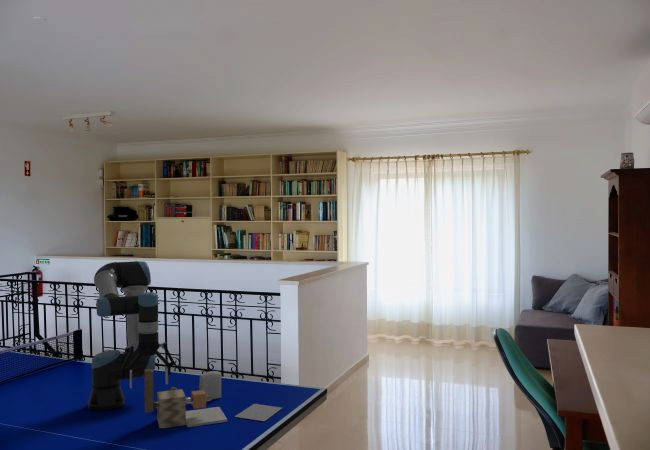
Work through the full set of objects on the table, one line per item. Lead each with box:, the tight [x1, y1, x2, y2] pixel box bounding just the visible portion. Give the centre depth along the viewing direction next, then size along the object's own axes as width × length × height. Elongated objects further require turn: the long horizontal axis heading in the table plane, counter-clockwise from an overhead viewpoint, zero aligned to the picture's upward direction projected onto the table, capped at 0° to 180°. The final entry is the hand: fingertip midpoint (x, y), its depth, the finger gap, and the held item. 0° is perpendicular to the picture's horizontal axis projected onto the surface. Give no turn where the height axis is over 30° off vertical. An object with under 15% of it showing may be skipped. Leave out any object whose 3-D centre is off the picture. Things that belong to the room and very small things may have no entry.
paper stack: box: [234, 403, 283, 422], centre depth 237 cm, size 23×25×1 cm
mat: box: [185, 406, 228, 428], centre depth 226 cm, size 16×16×1 cm
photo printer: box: [198, 370, 222, 400], centre depth 249 cm, size 10×4×12 cm, turn 123°
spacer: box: [191, 390, 207, 410], centre depth 225 cm, size 5×5×6 cm
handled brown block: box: [144, 369, 213, 414], centre depth 222 cm, size 26×4×16 cm, turn 112°
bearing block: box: [156, 388, 187, 429], centre depth 220 cm, size 10×10×11 cm
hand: (148, 385), depth 217 cm, fingers open, 13 cm apart
